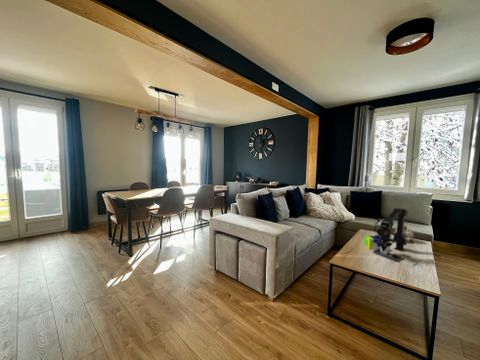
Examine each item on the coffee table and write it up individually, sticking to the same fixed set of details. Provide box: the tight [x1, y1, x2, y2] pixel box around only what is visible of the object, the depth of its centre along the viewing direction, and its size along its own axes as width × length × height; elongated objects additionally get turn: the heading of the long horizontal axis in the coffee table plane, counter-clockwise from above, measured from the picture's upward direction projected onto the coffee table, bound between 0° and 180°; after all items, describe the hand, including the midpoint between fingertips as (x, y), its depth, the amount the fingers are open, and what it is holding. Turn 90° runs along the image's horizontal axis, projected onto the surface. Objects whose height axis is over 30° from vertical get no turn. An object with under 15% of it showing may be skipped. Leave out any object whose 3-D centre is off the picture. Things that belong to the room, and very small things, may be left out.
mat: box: [399, 258, 417, 267], centre depth 162 cm, size 8×8×1 cm
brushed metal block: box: [380, 245, 391, 255], centre depth 174 cm, size 5×5×8 cm
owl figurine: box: [392, 224, 415, 244], centre depth 209 cm, size 18×12×17 cm, turn 42°
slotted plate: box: [372, 249, 403, 263], centre depth 173 cm, size 10×18×2 cm, turn 27°
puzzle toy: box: [364, 234, 382, 251], centre depth 190 cm, size 10×10×10 cm
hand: (385, 250), depth 174 cm, fingers closed on brushed metal block, 5 cm apart
